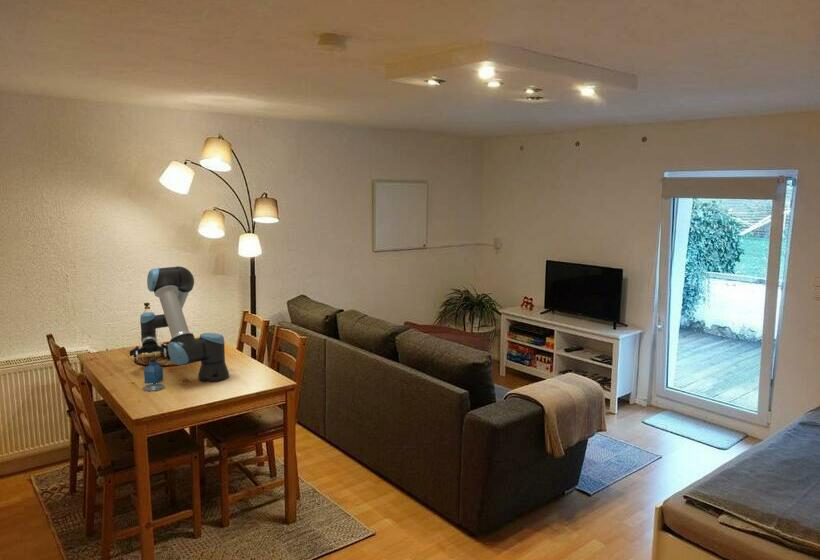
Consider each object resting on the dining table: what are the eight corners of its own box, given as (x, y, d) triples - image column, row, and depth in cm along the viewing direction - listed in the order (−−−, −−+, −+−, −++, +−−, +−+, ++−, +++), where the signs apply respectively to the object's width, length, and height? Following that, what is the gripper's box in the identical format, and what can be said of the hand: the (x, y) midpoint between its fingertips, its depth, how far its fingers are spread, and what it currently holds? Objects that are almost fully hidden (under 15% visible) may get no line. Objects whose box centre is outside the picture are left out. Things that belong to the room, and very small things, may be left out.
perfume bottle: (155, 384, 294) (154, 361, 292) (144, 383, 296) (143, 360, 294) (163, 380, 300) (161, 357, 298) (152, 379, 302) (151, 356, 300)
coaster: (169, 386, 291) (169, 385, 291) (154, 393, 282) (154, 391, 282) (152, 383, 295) (152, 382, 294) (137, 390, 285) (137, 389, 285)
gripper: (174, 348, 330) (177, 359, 311) (124, 353, 319) (125, 365, 300) (173, 336, 329) (176, 346, 310) (124, 340, 318) (124, 351, 299)
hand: (151, 355), depth 305 cm, fingers open, 13 cm apart
